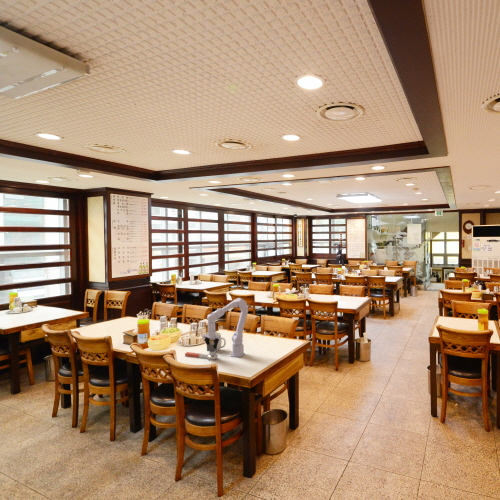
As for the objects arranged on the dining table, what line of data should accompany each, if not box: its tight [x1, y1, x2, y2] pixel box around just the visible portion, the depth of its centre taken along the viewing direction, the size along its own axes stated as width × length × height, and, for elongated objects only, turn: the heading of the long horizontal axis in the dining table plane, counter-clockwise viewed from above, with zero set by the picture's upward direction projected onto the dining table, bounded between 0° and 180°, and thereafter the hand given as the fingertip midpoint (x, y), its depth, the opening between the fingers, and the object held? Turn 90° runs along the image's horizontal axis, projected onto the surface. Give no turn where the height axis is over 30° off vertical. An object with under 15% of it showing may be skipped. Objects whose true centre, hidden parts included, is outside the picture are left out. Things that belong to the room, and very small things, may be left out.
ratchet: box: [184, 351, 218, 361], centre depth 264 cm, size 27×8×6 cm, turn 67°
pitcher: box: [205, 331, 227, 352], centre depth 281 cm, size 11×18×14 cm, turn 66°
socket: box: [206, 342, 217, 352], centre depth 260 cm, size 6×6×5 cm
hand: (212, 348), depth 261 cm, fingers closed on socket, 6 cm apart
